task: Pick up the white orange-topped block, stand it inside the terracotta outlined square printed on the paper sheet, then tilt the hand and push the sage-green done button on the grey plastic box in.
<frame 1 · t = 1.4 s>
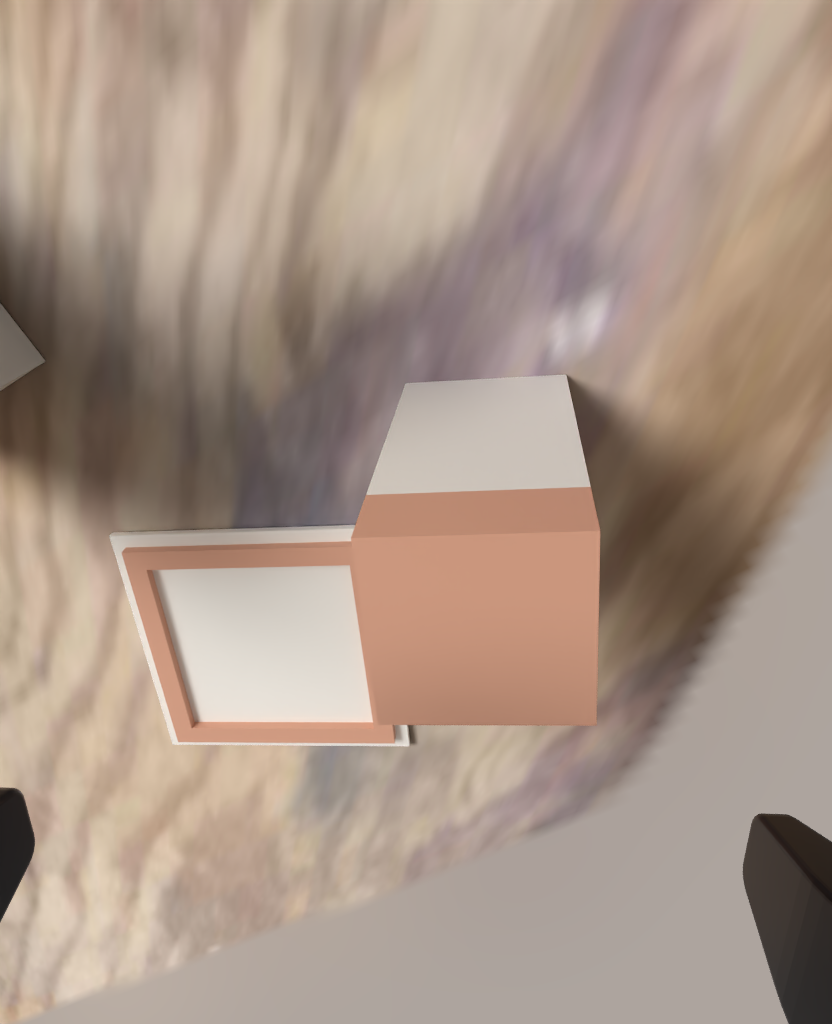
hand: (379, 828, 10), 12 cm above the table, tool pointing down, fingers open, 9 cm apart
white orange-topped block: (488, 452, 21), on the table
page: (269, 642, 24), on the table
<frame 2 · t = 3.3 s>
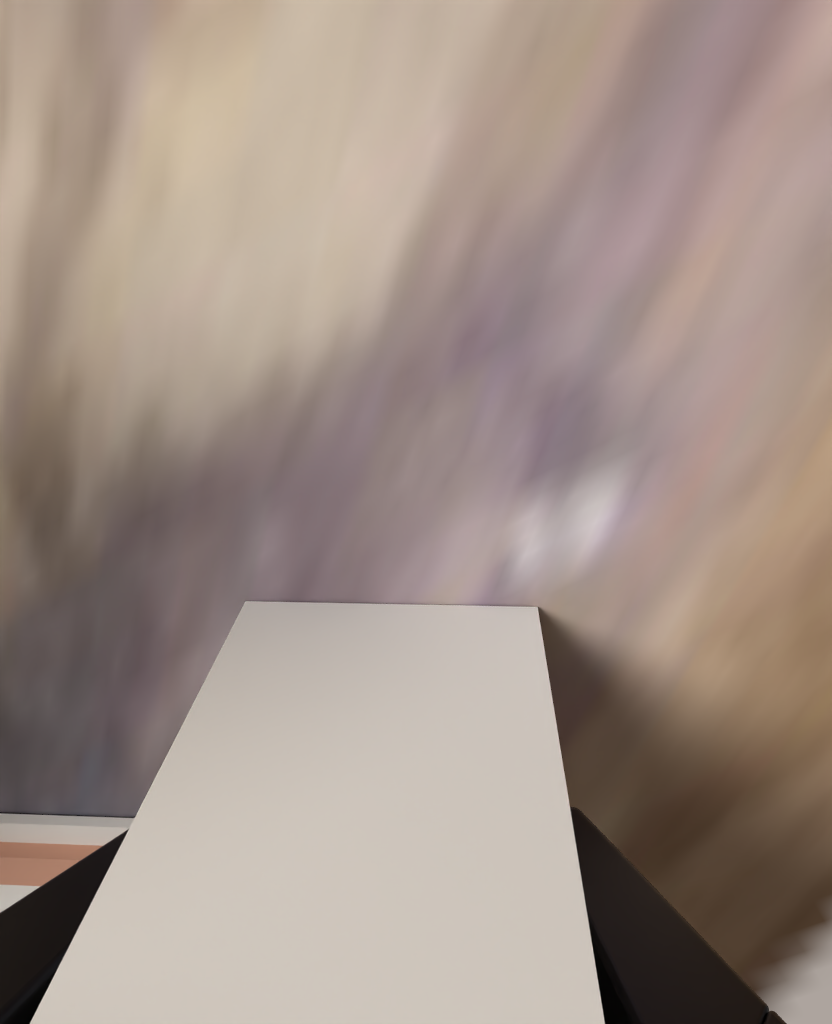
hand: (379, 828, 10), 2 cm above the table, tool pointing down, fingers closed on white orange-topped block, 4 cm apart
white orange-topped block: (393, 722, 12), on the table, touching gripper
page: (17, 980, 14), on the table
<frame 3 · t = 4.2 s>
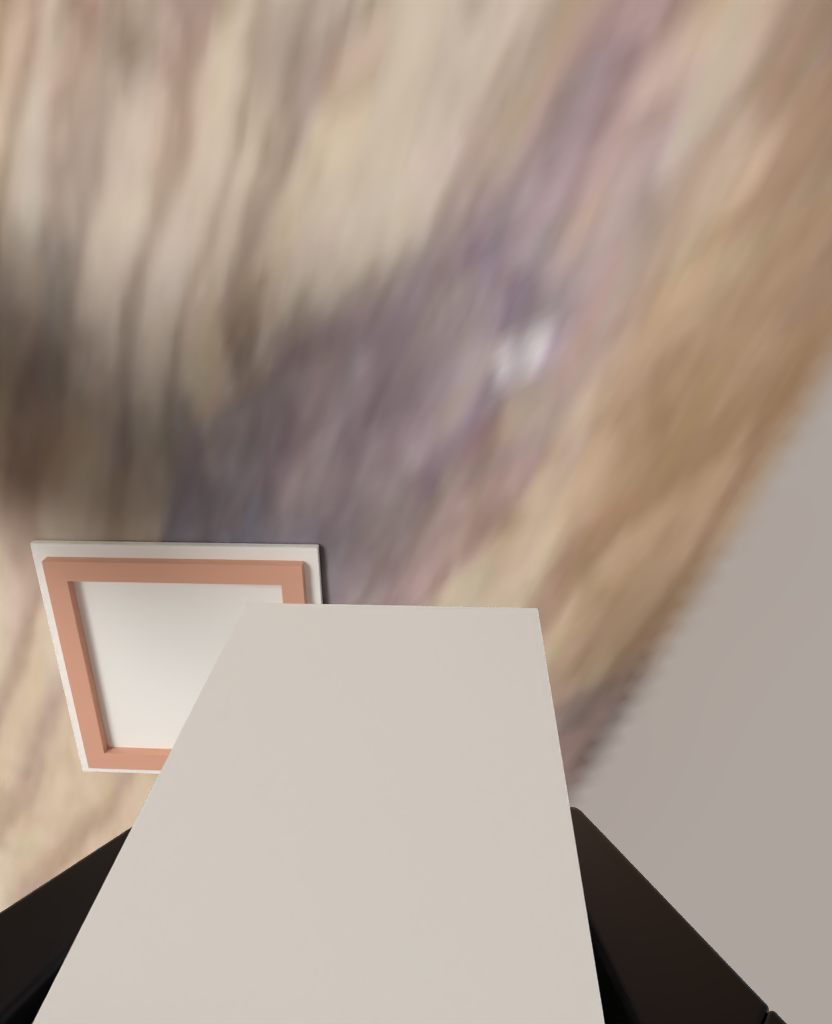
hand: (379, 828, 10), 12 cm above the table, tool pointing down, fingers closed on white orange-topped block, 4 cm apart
white orange-topped block: (393, 723, 12), point 10 cm above the table, touching gripper
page: (192, 664, 23), on the table
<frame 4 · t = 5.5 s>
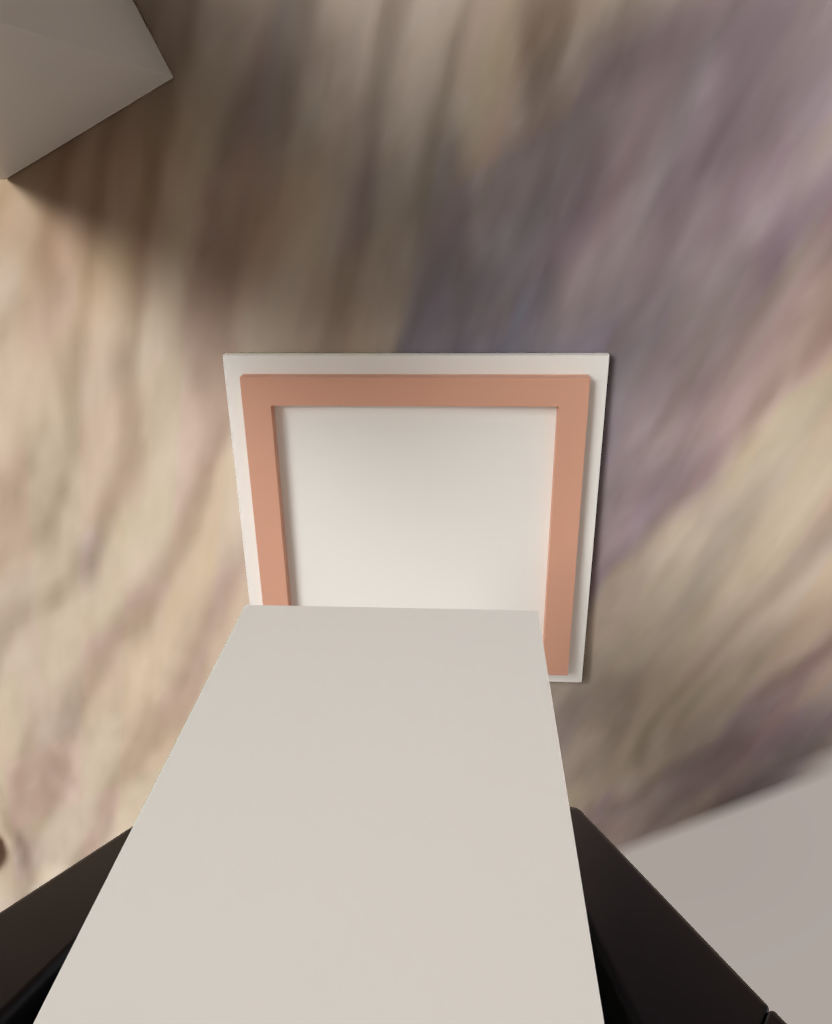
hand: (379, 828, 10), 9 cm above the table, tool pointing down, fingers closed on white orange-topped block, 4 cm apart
white orange-topped block: (393, 726, 12), point 7 cm above the table, touching gripper
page: (416, 527, 18), on the table
when the fingers open (4 cm above the table, at t = 6.7 s): white orange-topped block drops 1 cm, resting on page.
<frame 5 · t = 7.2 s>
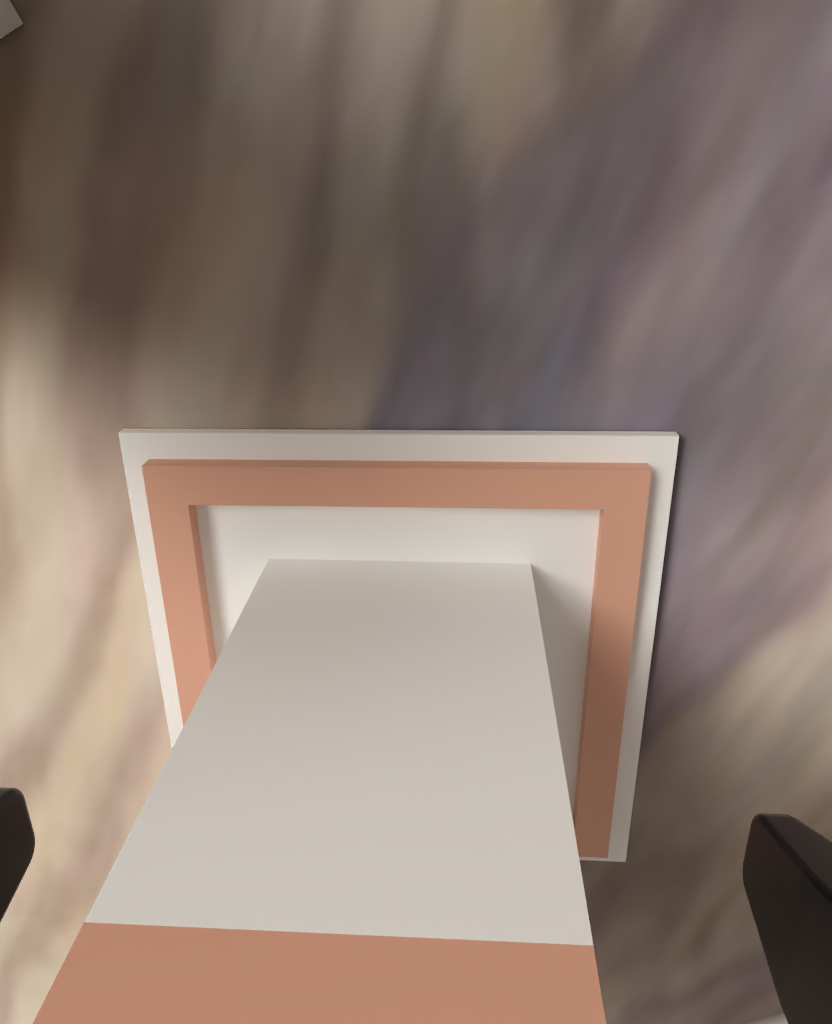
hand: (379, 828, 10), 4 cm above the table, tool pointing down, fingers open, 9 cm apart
white orange-topped block: (400, 670, 13), resting on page
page: (399, 662, 13), on the table
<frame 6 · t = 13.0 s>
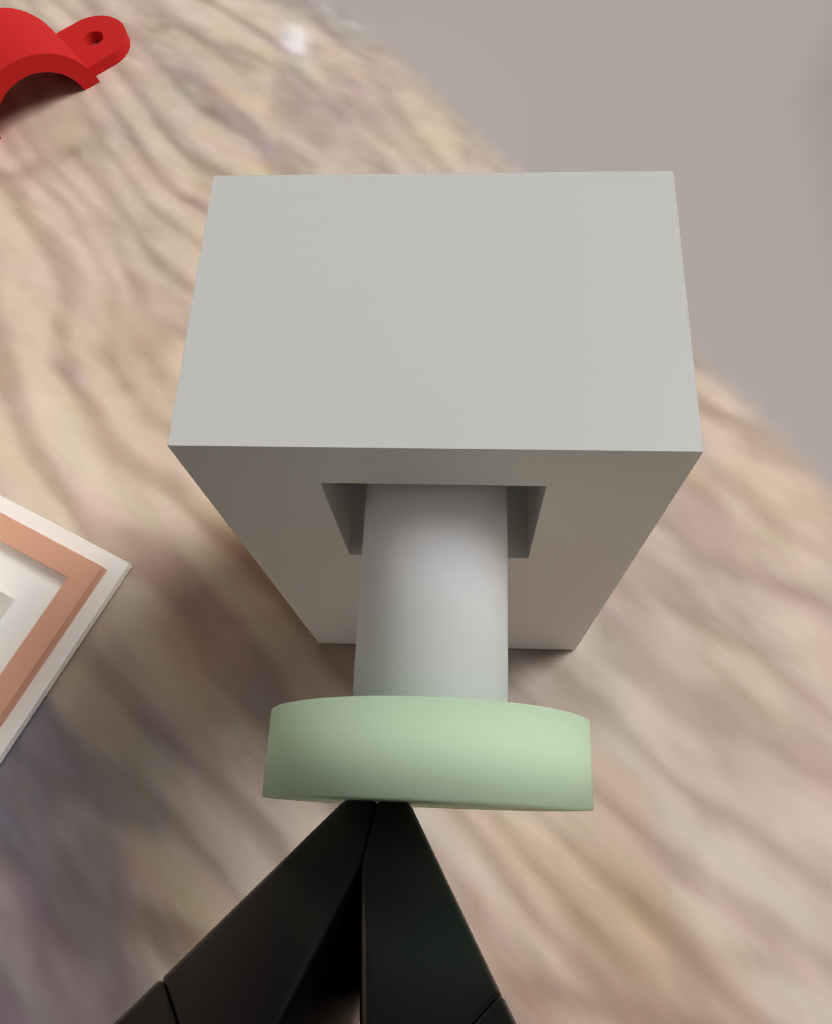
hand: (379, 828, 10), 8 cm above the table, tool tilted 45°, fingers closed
pipe clamp: (30, 103, 27), on the table
done button: (434, 549, 11), point 8 cm above the table, slide at 1.4 cm, touching gripper
button box: (447, 565, 19), on the table
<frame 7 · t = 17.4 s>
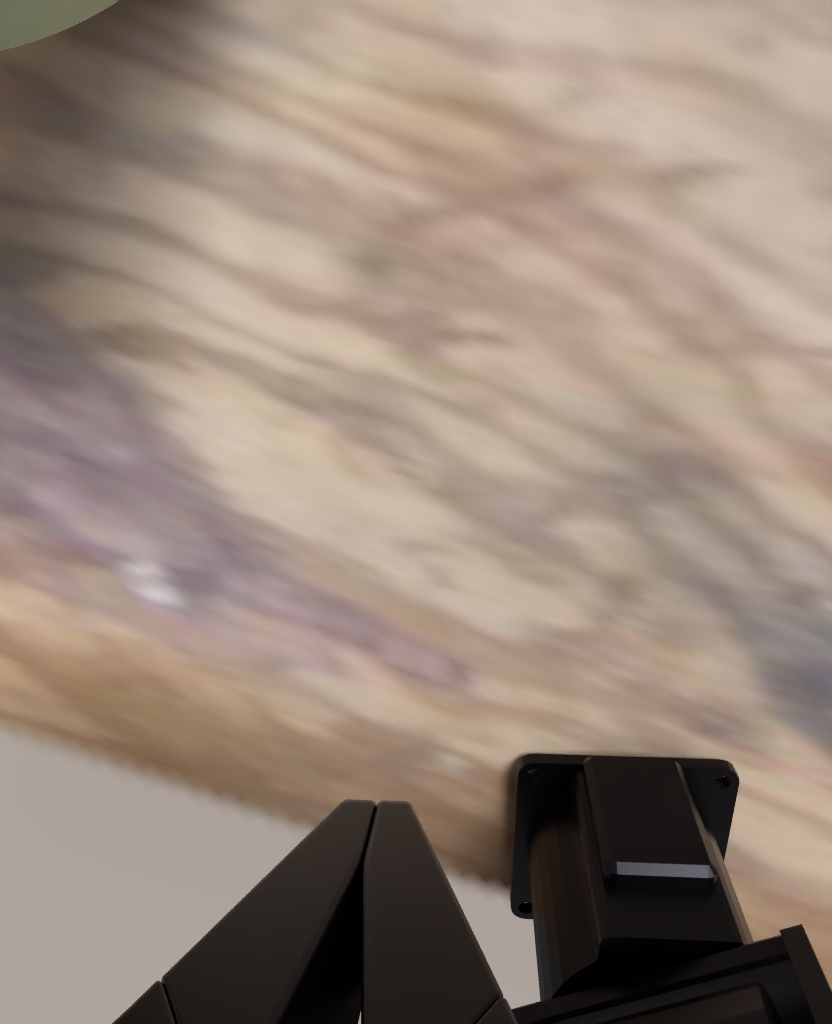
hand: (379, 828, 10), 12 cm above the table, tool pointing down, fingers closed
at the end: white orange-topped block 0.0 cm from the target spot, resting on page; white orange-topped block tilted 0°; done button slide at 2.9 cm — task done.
